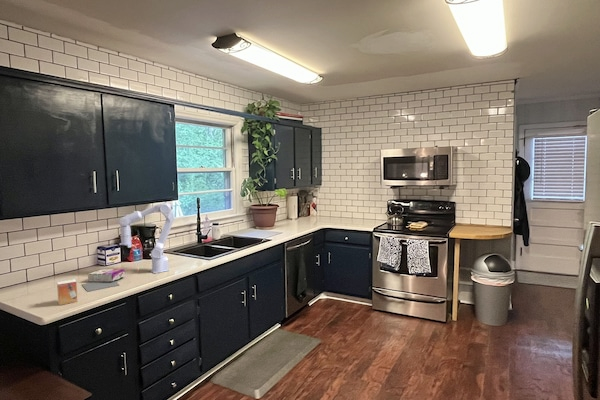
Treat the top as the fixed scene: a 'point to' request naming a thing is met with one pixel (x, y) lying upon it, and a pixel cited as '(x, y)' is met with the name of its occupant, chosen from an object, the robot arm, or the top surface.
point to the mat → (99, 285)
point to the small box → (67, 292)
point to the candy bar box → (106, 275)
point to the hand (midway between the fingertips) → (127, 257)
